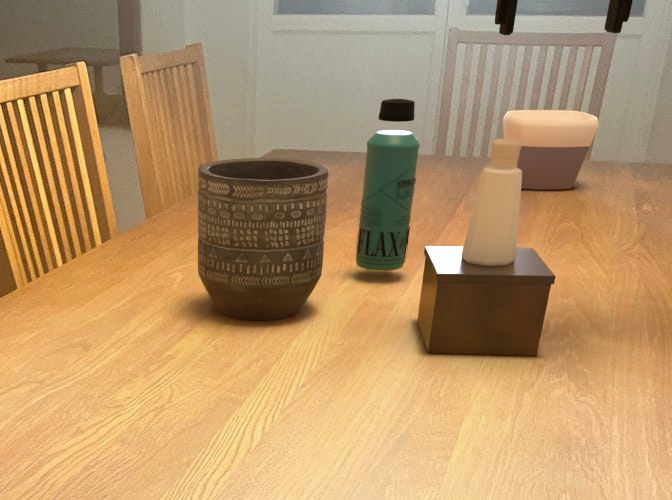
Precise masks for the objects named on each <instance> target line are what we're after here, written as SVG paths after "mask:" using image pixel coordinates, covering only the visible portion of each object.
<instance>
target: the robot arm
mask: <svg viewBox="0 0 672 500" xmlns="http://www.w3.org/2000/svg"><path fill="white" fill-rule="evenodd" d="M518 2H519V1H518V0H496V7H495V13H494V14H495V15H494V25H499V29H498V31H499V32H498V33H499V34H500V35H503V36H511V35H512V34H513V33H514V29H515V28H514V27H515V22H516V14H517V10H518V9H517V7H518ZM633 2H634V1H633V0H609V4H608V8H607V12H606V17H605V23H604V31H606V32H607V33H611V34H621V32H622V29H623V24H624V23H627V22H628V21H629V19H630V15H631V12H632V6H633Z"/></svg>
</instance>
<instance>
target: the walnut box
mask: <svg viewBox="0 0 672 500" xmlns="http://www.w3.org/2000/svg"><path fill="white" fill-rule="evenodd" d="M462 250H463V246H456V245H455V246H453V245H449V246H448V245H424V249H423V255H424V256H425V258H424V265H423V273H422V280H421V281H422V282H421V289H420V296H419V305H418V312H417V320H416V321H417V324H418V328H419V331H420V333H421V336H422V339H423V343H424V346H425V348H426V352H427V353H428V354H444V355H446V354H447V355H477V356H478V355H481V356H485V355H487V356H515V357H516V356H519V357H520V356H522V357H537V356H538V352H539V346H540V341H541V336H542V332H543V326H544V322H545V318H546V312H547V307H548V303H549V297H550V293H551V288H552V285H555V282H556V278H557V277H556V275H555V273H554V272H553V271H552V270H551V268H549V266H548V265H547V264H546V262H545V261H544V260H543V259H542V258H541V256H540V255H539V254H538V253H537V251H536V250H535V249H534V248H533V247H516V259H515V261H514V262H512V263H510V264H508V265H506V266H483V265H477V264H471V263H468V262H466V261H465V260H464V259H462V258H461V254H462Z"/></svg>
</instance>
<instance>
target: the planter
mask: <svg viewBox="0 0 672 500" xmlns="http://www.w3.org/2000/svg"><path fill="white" fill-rule="evenodd" d="M197 171H198V172H197V175H198V176H197V177H198V179H197V181H198V183H197V187H198V190H197V234H198V238H197V274H198V277H199V279H200V281H201V283H202V285H203V286H204V288H205V291H206V292H207V294H208V296H209V298H210V299H211V301H212V302H213V304H214V306H215V307H216V309H217V311H219V312H220V314H223V315H225V316H227V317H230V318H234V319H238V320H246V321H274V320H281V319H286V318H289V317H292V316H294V315H296V314H297V313H299V312H300V310H301V309H302V307H303V306H304V305H305V304H306V302H307V300H308V299H309V297H310V296H311V294H312V292H313V291H314V289H315V288H316V286H317V284H318V283H319V281H320V280H321V279H320V278H321V276H323V275H322V273H323V265H324V251H325V249H324V248H325V232H326V231H325V230H326V220H327V207H328V188H329V187H328V186H329V173H330V169H329V167H328V166H326V165H324V164H321V163H317V162H314V161H307V160H301V159H295V158H283V157H281V158H280V157H246V158H245V157H244V158H231V159H230V158H229V159H221V160H216V161H210V162H205V163H202V164H200V165H199V167H198V169H197Z"/></svg>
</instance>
